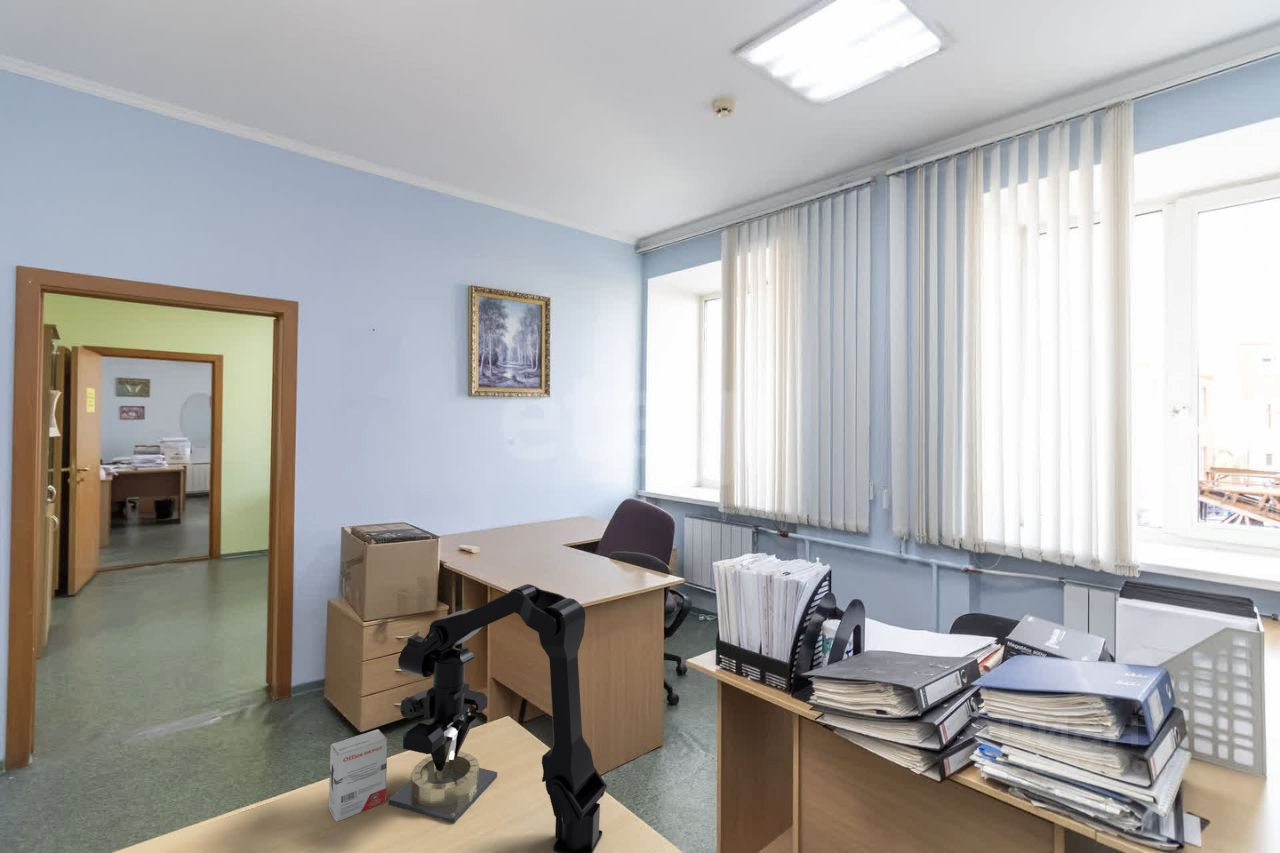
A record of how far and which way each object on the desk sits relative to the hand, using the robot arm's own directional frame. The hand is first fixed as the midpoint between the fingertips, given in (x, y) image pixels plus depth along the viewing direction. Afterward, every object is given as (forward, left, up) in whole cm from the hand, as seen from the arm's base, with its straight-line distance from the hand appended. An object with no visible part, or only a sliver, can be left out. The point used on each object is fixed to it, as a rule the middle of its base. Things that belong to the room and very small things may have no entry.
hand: (446, 764), depth 110 cm
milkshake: (0, 0, -3) cm, 3 cm away
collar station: (0, 0, -5) cm, 5 cm away
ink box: (+12, +9, -5) cm, 16 cm away
